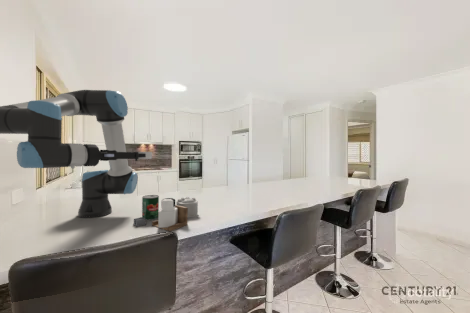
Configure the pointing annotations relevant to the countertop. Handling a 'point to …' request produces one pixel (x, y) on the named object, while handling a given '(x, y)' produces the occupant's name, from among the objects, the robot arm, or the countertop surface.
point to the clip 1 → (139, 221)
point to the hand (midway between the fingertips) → (141, 155)
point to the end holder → (181, 219)
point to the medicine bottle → (167, 213)
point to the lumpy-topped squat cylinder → (189, 205)
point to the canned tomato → (150, 207)
